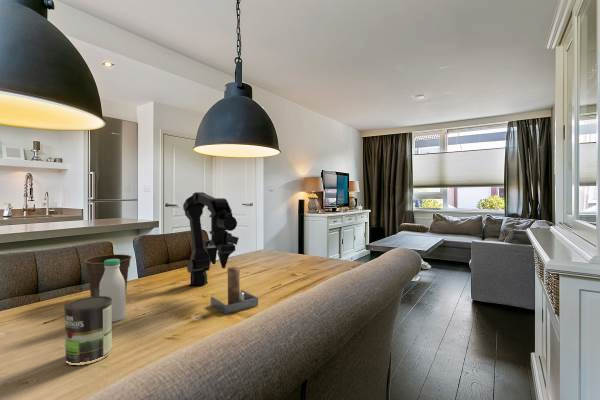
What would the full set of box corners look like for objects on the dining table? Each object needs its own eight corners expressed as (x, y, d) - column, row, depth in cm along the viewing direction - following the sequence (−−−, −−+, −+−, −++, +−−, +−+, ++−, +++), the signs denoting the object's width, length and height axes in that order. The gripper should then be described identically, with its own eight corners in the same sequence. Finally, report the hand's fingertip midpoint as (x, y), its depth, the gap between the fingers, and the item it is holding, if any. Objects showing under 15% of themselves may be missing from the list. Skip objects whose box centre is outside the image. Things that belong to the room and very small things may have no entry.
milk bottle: (131, 315, 108) (130, 258, 108) (111, 324, 101) (110, 263, 101) (114, 313, 111) (113, 256, 110) (93, 321, 104) (92, 261, 103)
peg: (227, 307, 116) (227, 270, 116) (228, 303, 121) (227, 267, 120) (239, 306, 117) (239, 269, 117) (239, 302, 121) (239, 266, 121)
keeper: (210, 305, 119) (210, 289, 118) (242, 297, 127) (242, 282, 127) (225, 314, 109) (225, 297, 109) (258, 305, 118) (258, 290, 118)
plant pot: (138, 297, 128) (137, 257, 127) (91, 308, 116) (90, 264, 115) (124, 289, 139) (123, 252, 138) (80, 298, 127) (79, 258, 127)
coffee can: (83, 370, 75) (82, 311, 75) (55, 361, 79) (54, 306, 79) (121, 350, 85) (121, 298, 85) (95, 343, 89) (94, 294, 88)
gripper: (246, 229, 128) (247, 267, 128) (226, 225, 142) (226, 259, 143) (221, 231, 121) (221, 271, 121) (202, 227, 135) (202, 263, 136)
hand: (218, 266), depth 130 cm, fingers open, 9 cm apart
